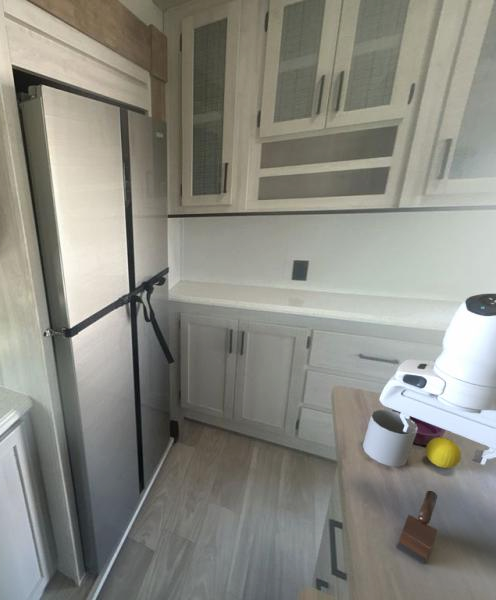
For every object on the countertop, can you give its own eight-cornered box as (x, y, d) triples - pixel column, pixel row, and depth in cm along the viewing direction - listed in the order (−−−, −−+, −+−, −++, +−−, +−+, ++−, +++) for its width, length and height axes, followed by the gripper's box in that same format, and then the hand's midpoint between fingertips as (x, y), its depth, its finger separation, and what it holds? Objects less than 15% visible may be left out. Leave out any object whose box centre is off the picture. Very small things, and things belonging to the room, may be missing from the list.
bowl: (444, 432, 86) (448, 420, 85) (435, 454, 80) (440, 442, 79) (393, 412, 94) (396, 402, 92) (382, 431, 88) (386, 420, 87)
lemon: (450, 461, 78) (461, 435, 75) (457, 479, 74) (469, 453, 71) (419, 452, 81) (428, 427, 78) (424, 469, 77) (434, 444, 74)
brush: (413, 502, 71) (420, 483, 68) (439, 515, 68) (447, 496, 65) (396, 547, 63) (403, 527, 61) (424, 564, 60) (433, 544, 58)
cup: (388, 471, 78) (399, 438, 74) (354, 445, 85) (362, 414, 81) (415, 460, 79) (427, 428, 76) (380, 436, 87) (388, 406, 83)
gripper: (567, 406, 51) (531, 471, 56) (396, 356, 66) (380, 410, 71) (566, 427, 47) (527, 494, 52) (386, 369, 63) (370, 425, 68)
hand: (441, 445), depth 62 cm, fingers open, 8 cm apart
